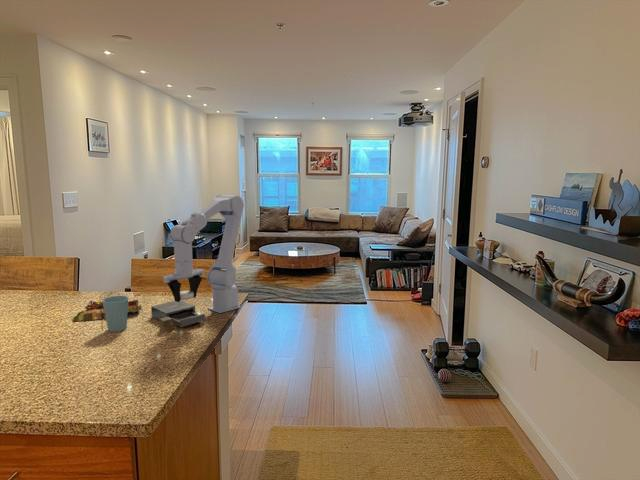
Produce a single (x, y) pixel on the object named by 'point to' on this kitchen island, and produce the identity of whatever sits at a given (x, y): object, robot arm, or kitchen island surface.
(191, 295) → the white rounded dome
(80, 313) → the crumpled patterned cloth
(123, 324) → the cup
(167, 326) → the brown cardboard cube
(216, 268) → the robot arm
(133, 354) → the kitchen island surface
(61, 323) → the kitchen island surface
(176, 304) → the shiny gray metal block
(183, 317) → the tray
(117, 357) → the kitchen island surface
